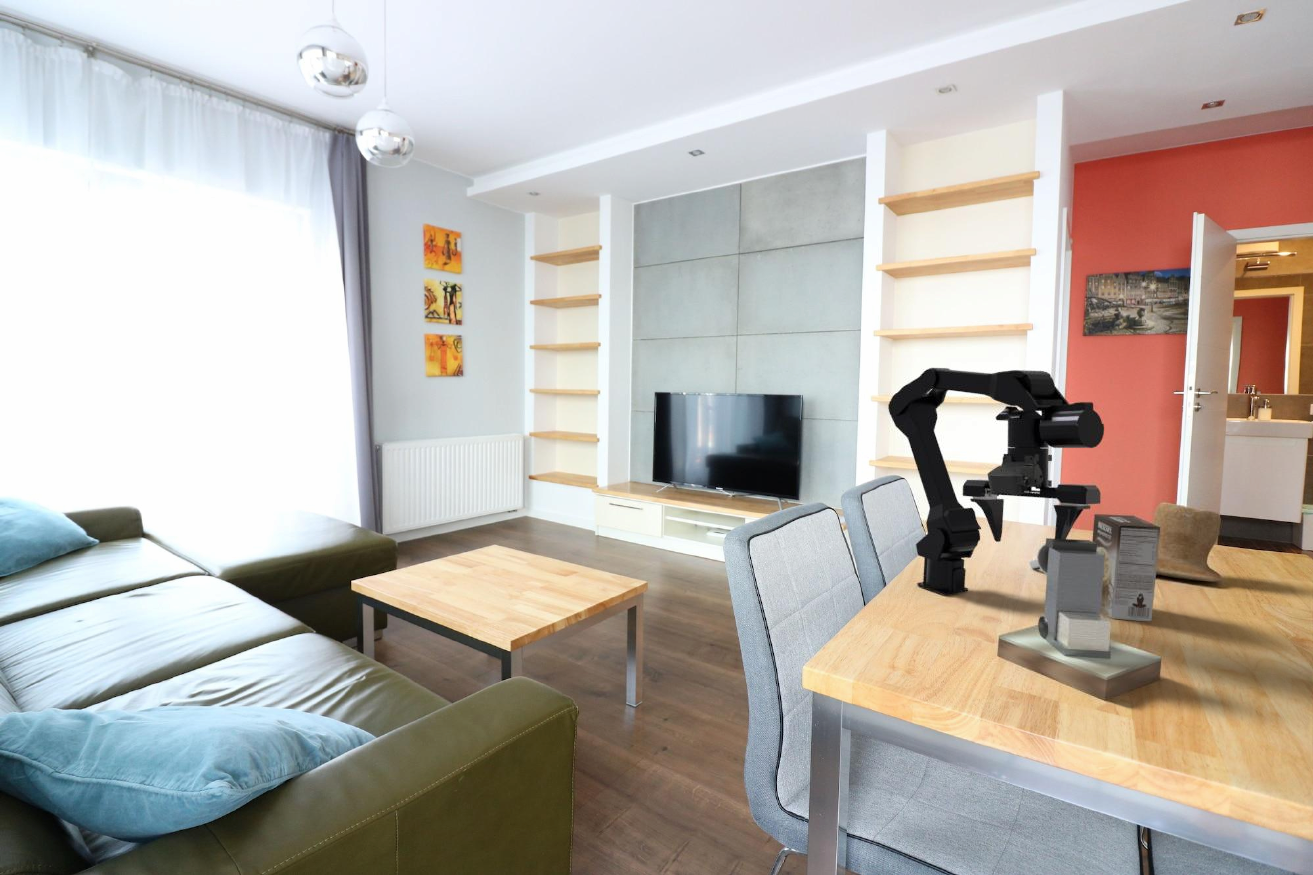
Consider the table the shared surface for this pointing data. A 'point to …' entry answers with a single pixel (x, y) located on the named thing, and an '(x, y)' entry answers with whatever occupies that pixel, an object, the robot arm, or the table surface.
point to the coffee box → (1127, 565)
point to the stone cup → (1186, 541)
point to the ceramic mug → (1041, 559)
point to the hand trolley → (1075, 600)
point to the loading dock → (1082, 664)
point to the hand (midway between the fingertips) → (1026, 545)
